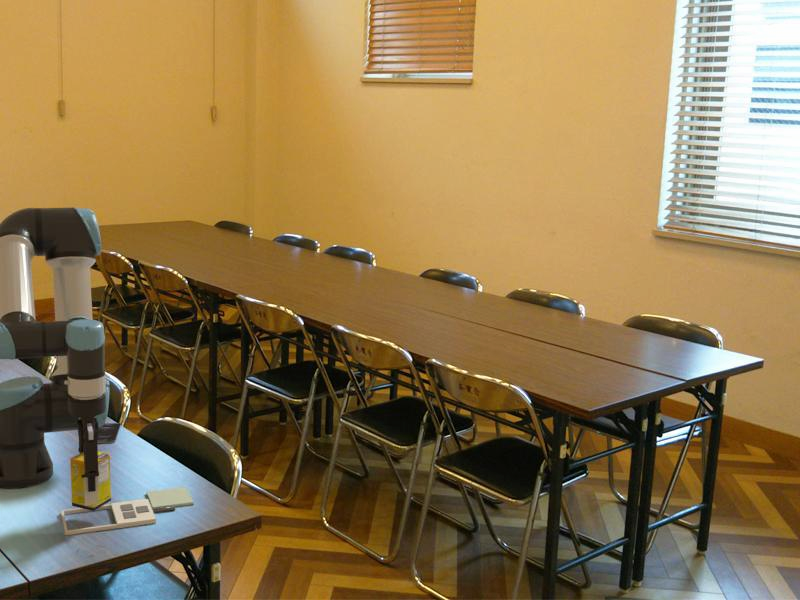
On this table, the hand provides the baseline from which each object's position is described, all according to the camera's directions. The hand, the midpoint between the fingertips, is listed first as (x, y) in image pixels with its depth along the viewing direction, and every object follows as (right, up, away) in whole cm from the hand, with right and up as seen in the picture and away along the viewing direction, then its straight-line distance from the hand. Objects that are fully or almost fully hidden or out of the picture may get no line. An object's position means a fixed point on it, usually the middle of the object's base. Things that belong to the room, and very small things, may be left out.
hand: (89, 495), depth 203 cm
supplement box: (0, -2, +1) cm, 2 cm away
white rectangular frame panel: (+6, -5, +3) cm, 8 cm away
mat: (+14, -4, +13) cm, 20 cm away
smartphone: (-13, +5, +53) cm, 55 cm away
